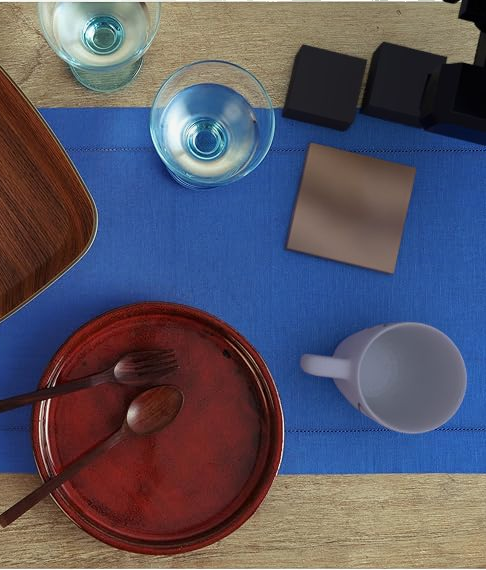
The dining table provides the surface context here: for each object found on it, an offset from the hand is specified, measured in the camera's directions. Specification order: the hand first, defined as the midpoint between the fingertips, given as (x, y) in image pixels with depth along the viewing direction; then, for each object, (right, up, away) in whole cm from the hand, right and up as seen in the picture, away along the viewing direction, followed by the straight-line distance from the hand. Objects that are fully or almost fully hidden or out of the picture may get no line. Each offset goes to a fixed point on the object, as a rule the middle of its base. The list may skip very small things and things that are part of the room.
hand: (436, 54), depth 50 cm
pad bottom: (0, -1, +8) cm, 8 cm away
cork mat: (-5, -12, +7) cm, 14 cm away
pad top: (-7, -1, +8) cm, 11 cm away
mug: (-5, -26, +7) cm, 27 cm away
